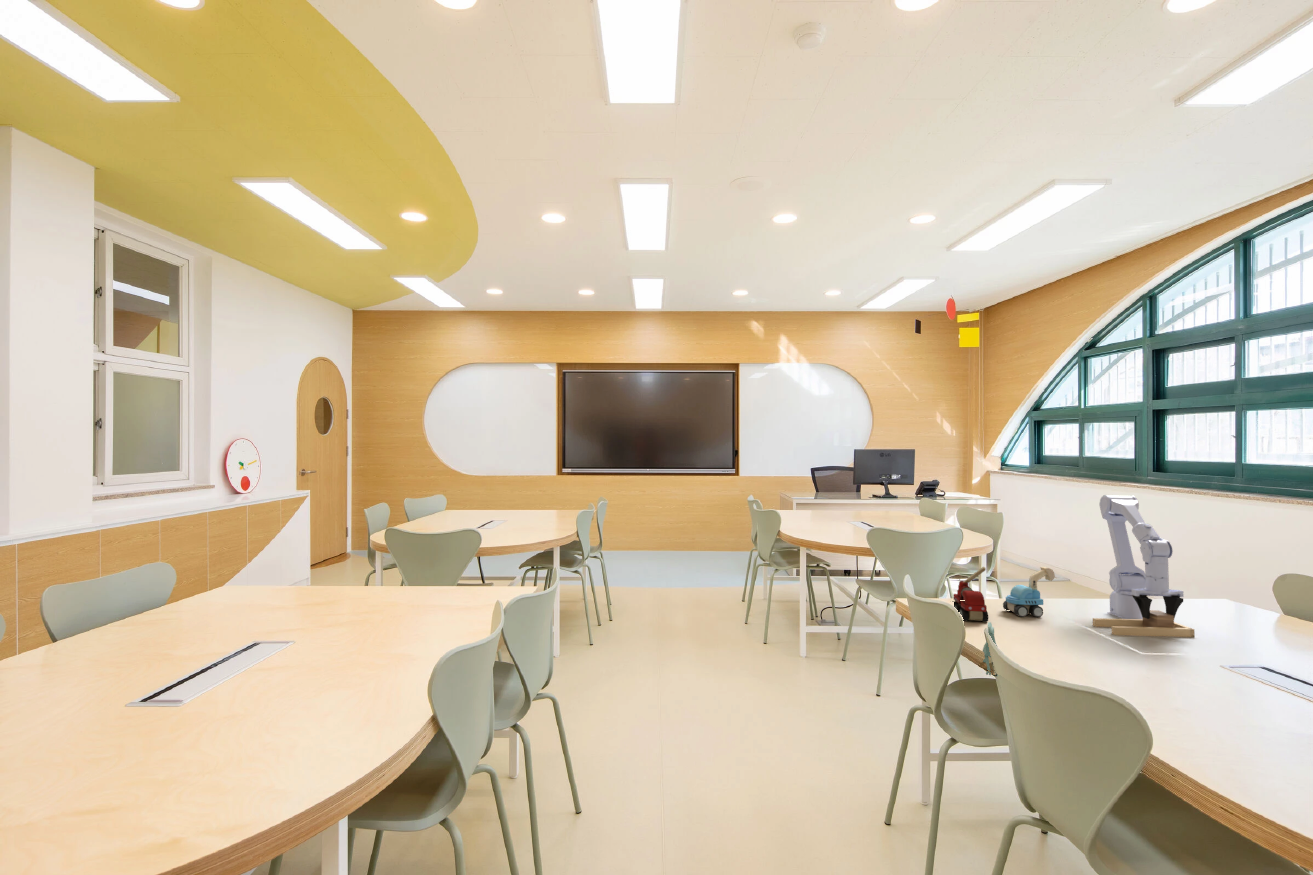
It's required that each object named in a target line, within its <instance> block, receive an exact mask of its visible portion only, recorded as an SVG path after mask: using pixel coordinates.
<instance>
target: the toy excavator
mask: <svg viewBox="0 0 1313 875" xmlns="http://www.w3.org/2000/svg"><path fill="white" fill-rule="evenodd" d="M1039 569H1040V570H1038V571H1036V572H1034V573H1033V574H1031V575H1030V576H1029V578H1028V579H1029V580H1028V586H1026V585H1024V584H1018V585H1017V584H1016V585H1015V586H1013V587H1012V588H1011V590H1010V594H1008V595H1007V596H1005V600H1004V601H1003V603H1002V607H1003V609H1004V610H1005V609H1006V610H1010V611H1012V612H1013V613H1014V614H1015V616H1018V617H1020V618H1022V617H1026V616H1028V615H1029V614H1030V615H1031V616H1034V617H1035V618H1036V617H1037V618H1041V617H1042V616H1043V615H1044V609H1043V608H1042V607H1041V606H1043V605H1044V599H1043V598H1041V592H1040V591H1039V590H1038V581H1039V580H1041V579H1043V578H1044V579H1045V580H1046V581H1050V582H1052V581H1053V580H1054V579H1055V576H1056V575H1055V574H1056V573H1055V572H1054V571H1053V569H1051V568H1049V567H1047V566H1040V567H1039ZM1006 610H1005V611H1006Z"/></svg>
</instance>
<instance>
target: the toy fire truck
mask: <svg viewBox="0 0 1313 875" xmlns="http://www.w3.org/2000/svg"><path fill="white" fill-rule="evenodd" d="M986 570H987V569H986V567H985V566H982V567H981V568H979V569H978V570H977V571H975V572H974V573H973V574H971V575H969V577H967V578H966V579H965V580H959V582H958V585H957V586H958V587H957V588H958V589H957V590H956V591H957V592H956V593H954V594H953V600H954V601H953V600H952V602H954V607H955V608H956V609H957V610H958V612H960V614H961V615H962V617H963V619H964V621H965V622H967V621H966V620H968V621H979V622H981V621H988V622H989V612H988V611H987V610H988V609H987V605H986V603H985V602H986V600H985V596H984V594H983V593H982V592H981V591H980V590H979V591H978V590H973V589H972V588H971V587H970V586H969V583H970V582H972V581H973V580H974V579H976V578H977V577H979V576H980V575H981V574H982V573H984V572H985V571H986ZM960 600H965V601H960Z"/></svg>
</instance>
